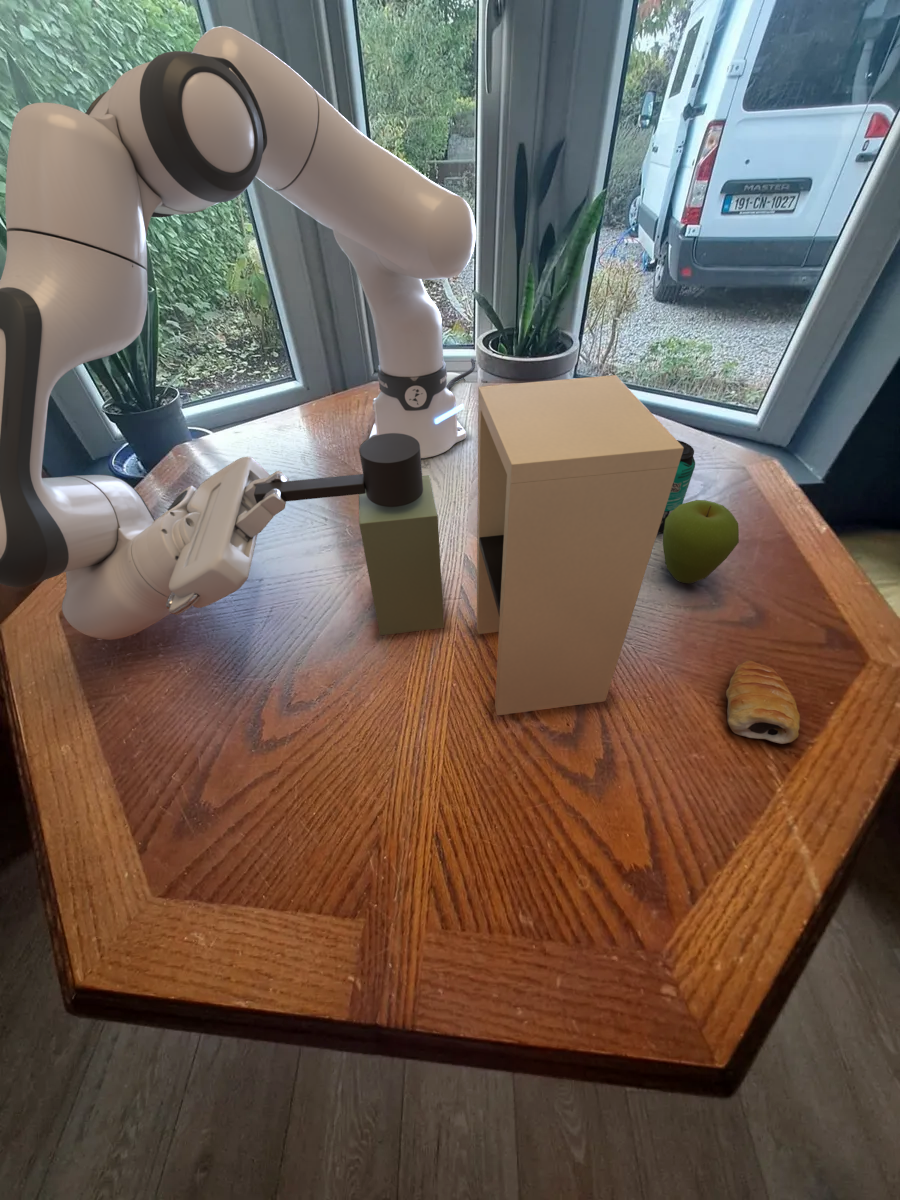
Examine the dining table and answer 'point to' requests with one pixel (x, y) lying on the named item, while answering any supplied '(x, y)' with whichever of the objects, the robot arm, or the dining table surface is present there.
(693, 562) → the apple
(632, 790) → the dining table surface
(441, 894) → the dining table surface
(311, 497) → the measuring cup
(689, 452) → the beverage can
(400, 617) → the rectangular block
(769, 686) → the pastry
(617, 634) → the tall cream box
